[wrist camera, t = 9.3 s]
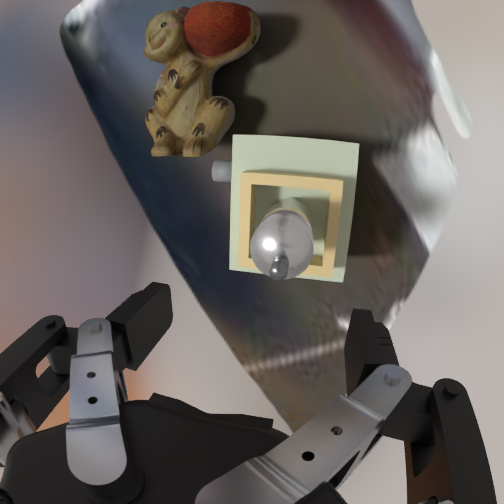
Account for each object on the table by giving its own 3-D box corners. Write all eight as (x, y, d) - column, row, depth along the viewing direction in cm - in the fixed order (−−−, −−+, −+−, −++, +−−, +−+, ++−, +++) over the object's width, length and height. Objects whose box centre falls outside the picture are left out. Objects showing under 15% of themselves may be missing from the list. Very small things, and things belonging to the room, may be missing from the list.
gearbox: (226, 137, 35) (194, 133, 26) (349, 145, 33) (363, 143, 23) (223, 245, 40) (194, 277, 30) (337, 257, 37) (344, 295, 28)
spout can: (267, 195, 29) (246, 222, 19) (313, 199, 28) (316, 227, 18) (265, 239, 30) (244, 285, 20) (310, 243, 29) (309, 292, 20)
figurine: (125, 162, 30) (126, 4, 23) (159, 154, 39) (158, 23, 31) (256, 155, 28) (253, -21, 21) (266, 150, 36) (263, 8, 29)
